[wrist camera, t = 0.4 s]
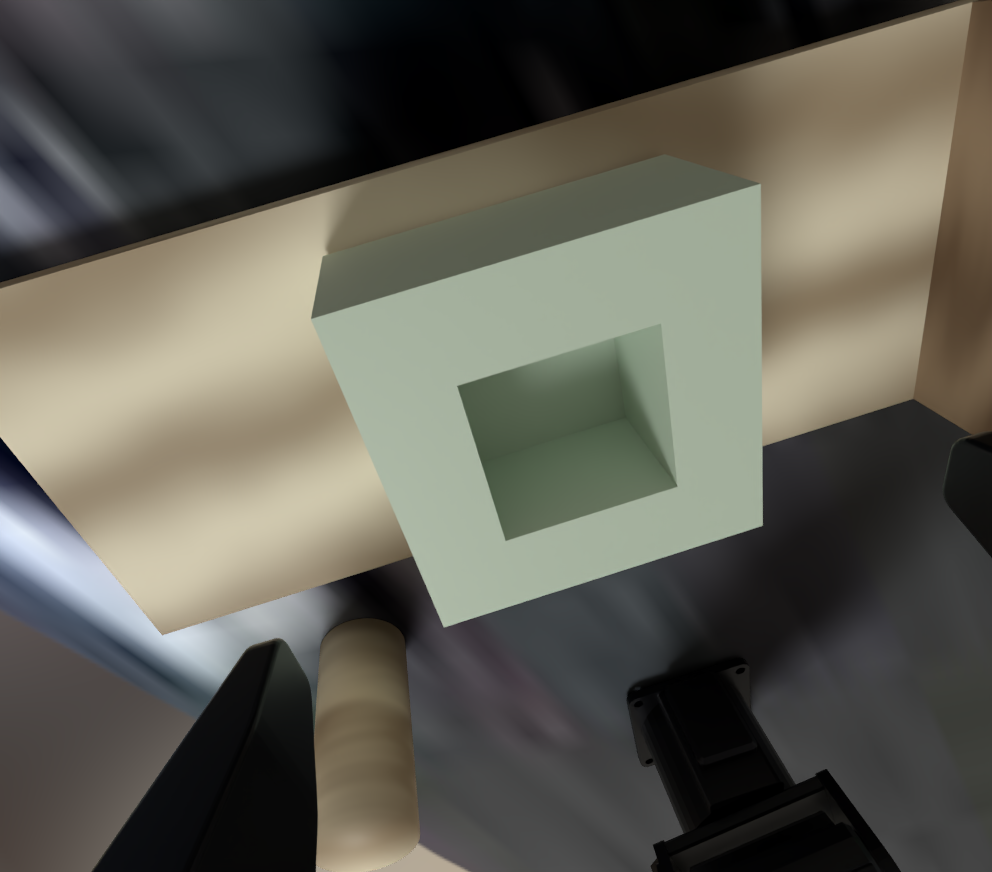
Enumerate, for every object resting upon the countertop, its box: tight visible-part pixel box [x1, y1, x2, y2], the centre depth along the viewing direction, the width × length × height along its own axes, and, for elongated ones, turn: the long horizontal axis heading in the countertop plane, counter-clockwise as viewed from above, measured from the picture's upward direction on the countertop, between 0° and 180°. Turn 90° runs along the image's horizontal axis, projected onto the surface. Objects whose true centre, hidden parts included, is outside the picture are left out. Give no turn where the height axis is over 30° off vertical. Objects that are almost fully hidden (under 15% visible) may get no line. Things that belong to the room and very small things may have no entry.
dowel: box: [314, 618, 420, 872], centre depth 24 cm, size 4×4×8 cm
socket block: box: [311, 154, 763, 627], centre depth 18 cm, size 10×10×5 cm
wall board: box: [0, 0, 992, 635], centre depth 18 cm, size 13×32×7 cm, turn 104°
